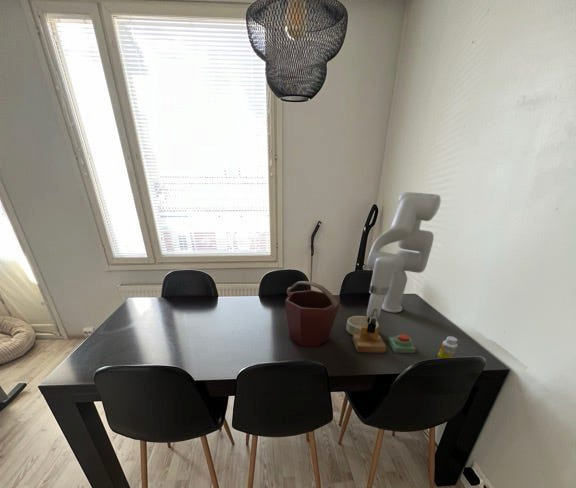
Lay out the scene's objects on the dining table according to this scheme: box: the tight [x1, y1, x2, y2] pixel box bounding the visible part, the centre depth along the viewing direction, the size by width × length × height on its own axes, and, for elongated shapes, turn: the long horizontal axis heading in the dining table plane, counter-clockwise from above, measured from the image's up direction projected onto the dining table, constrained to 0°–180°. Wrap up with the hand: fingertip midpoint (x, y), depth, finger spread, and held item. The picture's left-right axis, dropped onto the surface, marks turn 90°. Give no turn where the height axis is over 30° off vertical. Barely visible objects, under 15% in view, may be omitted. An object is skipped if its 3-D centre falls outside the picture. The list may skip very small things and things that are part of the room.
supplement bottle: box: [436, 336, 458, 359], centre depth 121 cm, size 6×6×10 cm
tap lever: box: [360, 326, 380, 340], centre depth 130 cm, size 8×2×5 cm, turn 76°
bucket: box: [284, 280, 340, 347], centre depth 129 cm, size 24×22×25 cm
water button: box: [398, 333, 410, 342], centre depth 129 cm, size 4×4×2 cm
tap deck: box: [352, 334, 387, 354], centre depth 131 cm, size 13×12×3 cm
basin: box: [345, 315, 379, 336], centre depth 141 cm, size 15×15×5 cm
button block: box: [387, 334, 417, 354], centre depth 131 cm, size 10×9×4 cm
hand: (370, 327), depth 128 cm, fingers open, 9 cm apart
